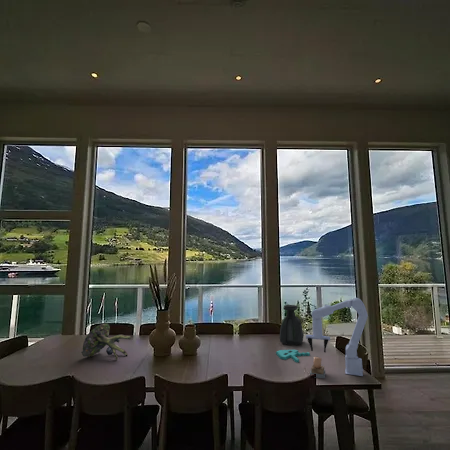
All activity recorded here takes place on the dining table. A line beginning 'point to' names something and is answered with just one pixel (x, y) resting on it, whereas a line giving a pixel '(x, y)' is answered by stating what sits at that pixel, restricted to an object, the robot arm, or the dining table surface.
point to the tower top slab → (317, 370)
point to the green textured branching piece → (102, 341)
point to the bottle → (291, 327)
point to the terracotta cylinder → (317, 362)
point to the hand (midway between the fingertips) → (318, 351)
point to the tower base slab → (319, 375)
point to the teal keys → (291, 354)
